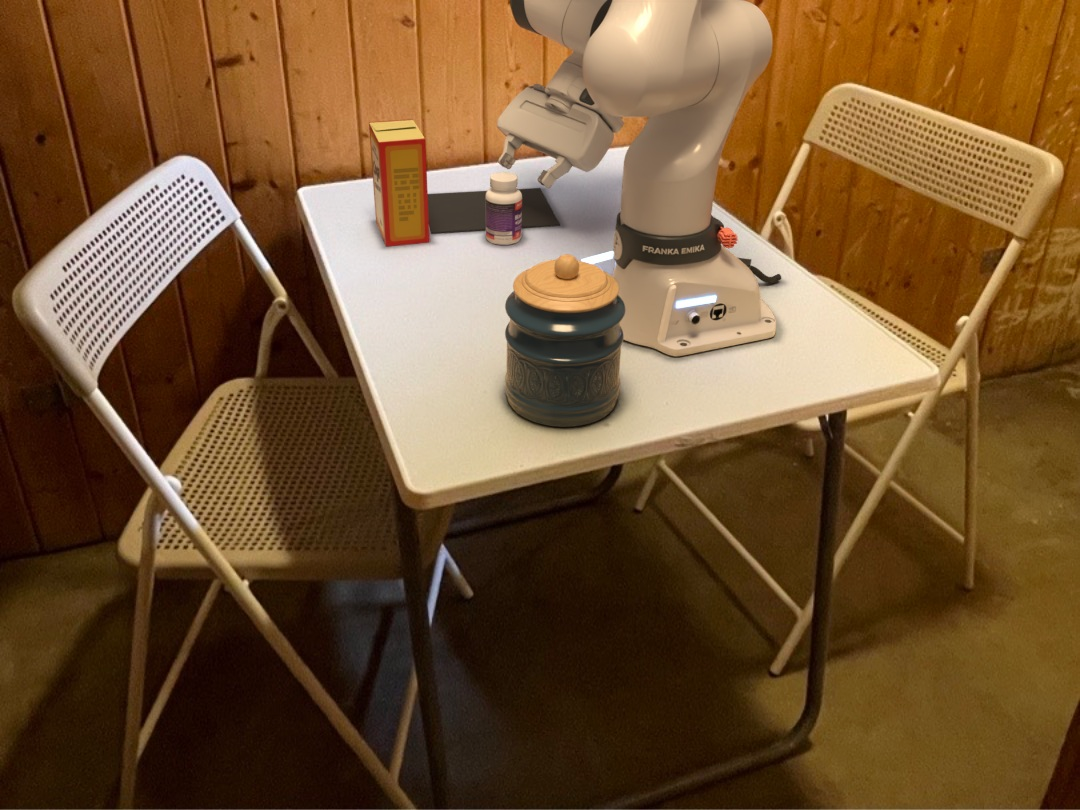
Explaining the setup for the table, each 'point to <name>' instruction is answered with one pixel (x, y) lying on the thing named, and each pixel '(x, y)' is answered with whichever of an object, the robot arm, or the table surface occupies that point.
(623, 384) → the table surface
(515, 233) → the pill bottle
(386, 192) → the baking soda box
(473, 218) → the rubber mat
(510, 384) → the canister
